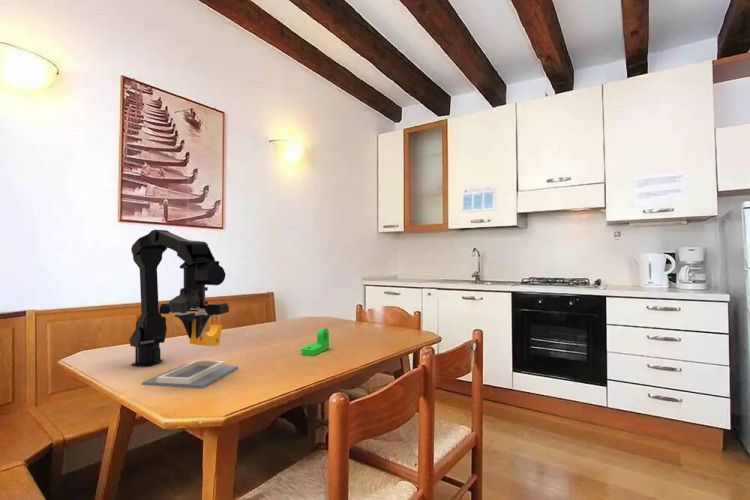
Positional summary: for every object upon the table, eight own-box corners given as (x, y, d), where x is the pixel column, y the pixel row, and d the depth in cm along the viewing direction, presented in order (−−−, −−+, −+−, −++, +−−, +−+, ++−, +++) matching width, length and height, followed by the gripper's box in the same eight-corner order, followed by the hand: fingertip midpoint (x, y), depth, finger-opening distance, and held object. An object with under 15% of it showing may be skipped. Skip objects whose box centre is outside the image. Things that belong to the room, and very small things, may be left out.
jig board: (141, 385, 105) (142, 377, 105) (184, 366, 123) (184, 359, 123) (203, 388, 102) (203, 379, 102) (237, 368, 120) (237, 361, 120)
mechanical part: (315, 347, 149) (314, 326, 149) (329, 348, 147) (328, 327, 147) (298, 354, 138) (298, 331, 138) (312, 356, 136) (312, 333, 136)
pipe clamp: (206, 345, 124) (209, 325, 126) (219, 345, 123) (221, 325, 125) (183, 343, 113) (187, 320, 114) (197, 343, 112) (200, 320, 114)
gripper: (145, 286, 107) (144, 343, 106) (208, 286, 104) (208, 345, 104) (172, 283, 118) (171, 335, 117) (229, 283, 115) (229, 336, 115)
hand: (194, 338), depth 113 cm, fingers closed on pipe clamp, 2 cm apart
